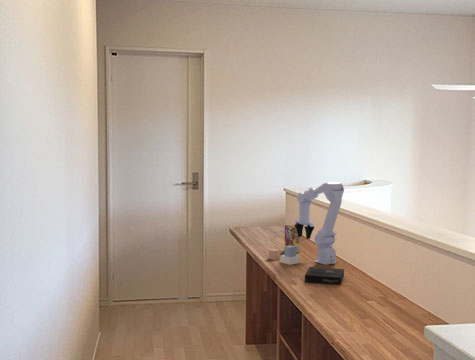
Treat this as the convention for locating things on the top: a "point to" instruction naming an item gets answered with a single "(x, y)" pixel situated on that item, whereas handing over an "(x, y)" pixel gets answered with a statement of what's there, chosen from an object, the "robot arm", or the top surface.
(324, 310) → the top surface
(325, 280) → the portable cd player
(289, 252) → the slate cube
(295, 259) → the white block
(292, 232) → the candy box
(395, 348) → the top surface
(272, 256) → the terracotta block
